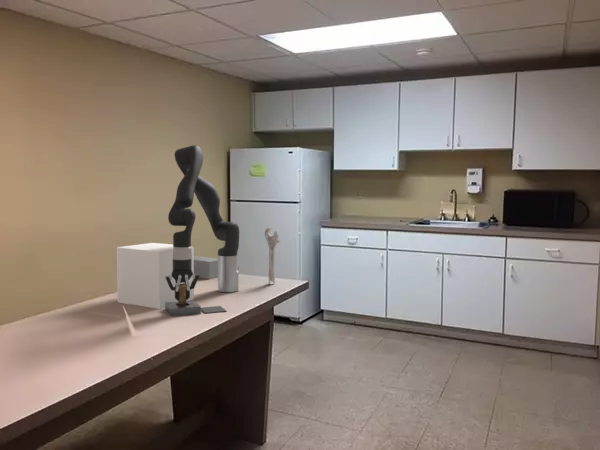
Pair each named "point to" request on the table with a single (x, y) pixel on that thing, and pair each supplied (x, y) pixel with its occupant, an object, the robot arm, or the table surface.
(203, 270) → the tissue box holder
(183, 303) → the wooden peg
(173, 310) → the gray square frame
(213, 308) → the mat
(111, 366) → the table surface
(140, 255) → the cube
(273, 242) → the wrench
